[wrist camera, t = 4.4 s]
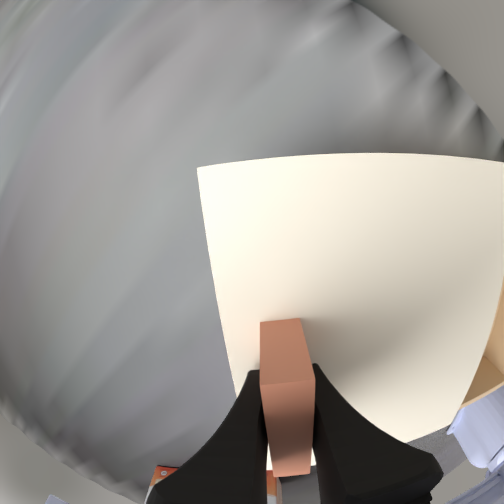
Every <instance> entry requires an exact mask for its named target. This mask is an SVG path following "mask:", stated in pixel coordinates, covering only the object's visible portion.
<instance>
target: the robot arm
mask: <svg viewBox="0 0 504 504" xmlns="http://www.w3.org/2000/svg"><path fill="white" fill-rule="evenodd" d="M312 368H313V372H314V375H315V406H314V426H313V442H312V449H313V452H314V456H315V461H316V466H317V474H318V482H319V491H320V500H321V504H430V501H431V500H432V496H431V494H430V491H431V490H432V489H433V488H434V487H435V486H436V485H437V484H438V483H439V482H440V480H441V479H442V477H443V474H444V473H443V471H442V469H441V467H440V465H439V463H438V462H437V460H436V459H435V457H434V456H433V454H431V453H428V452H425V451H422V450H420V449H417V448H414V447H412V446H410V445H408V444H406V443H404V442H402V441H400V440H398V439H396V438H394V437H393V436H391V435H389V434H388V433H386V432H384V431H383V430H381V429H379V428H378V427H377V426H375V425H374V424H372V423H371V422H370V421H369V420H367V419H366V418H365V417H364V416H362V415H361V414H360V413H359V412H358V411H357V410H356V409H354V408H353V407H352V406H351V405H350V404H349V403H348V402H347V401H346V400H345V398H344V397H343V396H342V395H341V394H340V393H339V392H338V391H337V390H336V388H335V387H334V386H333V385H332V383H331V382H330V381H329V380H328V378H327V377H326V376H325V374H324V373H323V371H322V370H321V368H320V366H319V365H318V364H317V363H314V364H312ZM451 433H453V434H454V435H455V437H456V439H457V440H458V442H459V444H460V446H461V447H462V449H463V451H464V453H465V454H466V456H467V458H468V460H469V461H470V463H471V464H473V465H474V466H476V467H479V468H486V467H488V469H489V470H488V471H487V472H486V477H485V480H483V481H482V482H480V483H479V484H477V485H475V486H474V487H473V488H471V489H469V490H467V491H466V492H464V493H462V494H461V495H459V496H457V497H455V498H454V499H452V500H450V501H448V502H446V503H444V504H504V385H503V386H501V387H500V388H498V389H496V390H495V391H493V392H491V393H490V394H488V395H486V396H485V397H483V398H481V399H479V400H477V401H475V402H474V403H472V404H470V405H468V406H466V407H464V408H462V409H460V410H459V411H458V413H457V415H456V416H455V418H454V420H453V422H452V424H451V425H450V427H449V429H448V431H447V435H449V434H451ZM267 454H268V437H267V431H266V424H265V417H264V411H263V404H262V397H261V390H260V369H258V370H250V371H249V372H248V373H247V377H246V379H245V382H244V384H243V387H242V389H241V391H240V393H239V395H238V397H237V399H236V401H235V403H234V405H233V407H232V408H231V410H230V412H229V413H228V415H227V416H226V418H225V419H224V421H223V422H222V424H221V425H220V427H219V428H218V429H217V431H216V432H215V433H214V434H213V436H212V437H211V438H210V439H209V440H208V441H207V442H206V444H205V445H204V446H203V447H202V448H201V449H200V450H199V451H198V452H197V453H196V454H195V455H194V456H193V457H191V458H190V459H189V460H188V461H187V462H186V463H184V464H183V465H182V466H181V467H180V468H178V469H177V470H176V471H174V472H173V473H171V474H170V475H168V476H167V477H165V478H164V479H162V480H161V481H159V482H158V483H156V484H155V485H154V486H153V488H152V490H151V492H150V494H149V496H148V498H147V501H146V504H267V473H266V470H267ZM45 504H69V503H67V502H65V501H63V500H61V499H59V498H57V497H56V496H53V495H52V494H50V495H49V497H48V498H47V500H46V503H45Z"/></svg>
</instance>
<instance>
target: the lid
mask: <svg viewBox="0 0 504 504" xmlns="http://www.w3.org/2000/svg"><path fill="white" fill-rule="evenodd" d="M197 172H198V180H199V188H200V195H201V203H202V210H203V217H204V224H205V230H206V237H207V243H208V250H209V256H210V262H211V268H212V274H213V280H214V285H215V291H216V297H217V302H218V308H219V313H220V318H221V324H222V329H223V334H224V339H225V344H226V349H227V354H228V358H229V363H230V368H231V373H232V377H233V382H234V386H235V391H236V395H237V397H238V395H239V393H240V391H241V389H242V387H243V384H244V382H245V379H246V377H247V373H248V372H249V371H250V370H258V369H260V390H261V397H262V404H263V411H264V417H265V424H266V431H267V437H268V454H267V470H273V476H274V477H284V476H294V475H303V474H310V466H313V465H316V461H315V456H314V452H313V449H312V442H313V426H314V406H315V375H314V372H313V368H312V364H314V363H317V364H318V365H319V366H320V368H321V370H322V371H323V373H324V374H325V376H326V377H327V378H328V380H329V381H330V382H331V383H332V385H333V386H334V387H335V388H336V390H337V391H338V392H339V393H340V394H341V395H342V396H343V397H344V398H345V400H346V401H347V402H348V403H349V404H350V405H351V406H352V407H353V408H354V409H356V410H357V411H358V412H359V413H360V414H361V415H362V416H364V417H365V418H366V419H367V420H369V421H370V422H371V423H372V424H374V425H375V426H377V427H378V428H379V429H381V430H383V431H384V432H386V433H388V434H389V435H391V436H393V437H394V438H396V439H398V440H400V441H402V442H404V443H406V442H409V441H412V440H414V439H417V438H420V437H422V436H425V435H427V434H430V433H432V432H434V431H437V430H439V429H441V428H444V427H446V426H448V425H450V424H451V423H452V421H453V419H454V417H455V415H456V414H457V412H458V410H459V408H460V406H461V404H462V402H463V400H464V398H465V396H466V394H467V391H468V389H469V387H470V385H471V383H472V380H473V378H474V376H475V373H476V371H477V368H478V366H479V363H480V361H481V358H482V355H483V352H484V350H485V347H486V344H487V341H488V338H489V334H490V331H491V328H492V324H493V321H494V317H495V314H496V310H497V306H498V301H499V297H500V292H501V288H502V283H503V277H504V163H503V162H497V161H490V160H482V159H474V158H465V157H455V156H443V155H428V154H406V153H342V154H318V155H302V156H289V157H277V158H267V159H257V160H248V161H240V162H232V163H225V164H218V165H211V166H205V167H199V168H197Z"/></svg>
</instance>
